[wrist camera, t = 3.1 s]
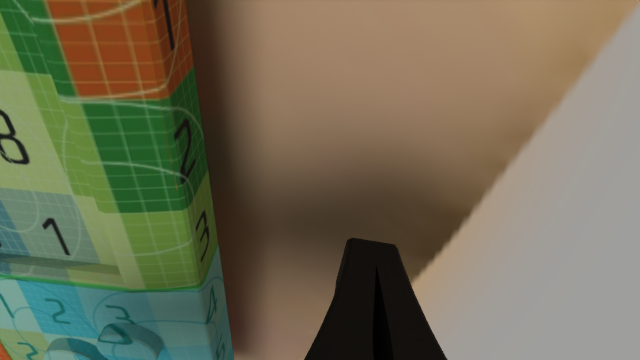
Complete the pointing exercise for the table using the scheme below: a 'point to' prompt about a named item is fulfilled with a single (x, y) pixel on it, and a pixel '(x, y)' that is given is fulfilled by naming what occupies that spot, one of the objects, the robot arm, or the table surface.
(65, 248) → the puzzle game
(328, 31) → the table surface
